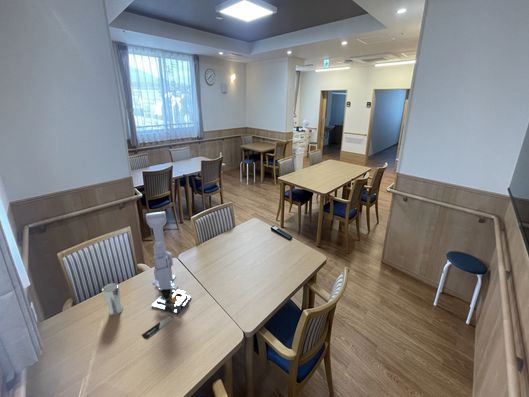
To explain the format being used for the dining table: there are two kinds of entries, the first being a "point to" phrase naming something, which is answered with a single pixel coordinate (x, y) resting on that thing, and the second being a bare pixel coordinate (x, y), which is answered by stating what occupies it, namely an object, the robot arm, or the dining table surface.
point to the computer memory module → (157, 327)
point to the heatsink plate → (169, 307)
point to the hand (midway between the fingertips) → (167, 297)
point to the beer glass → (112, 298)
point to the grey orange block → (175, 299)
